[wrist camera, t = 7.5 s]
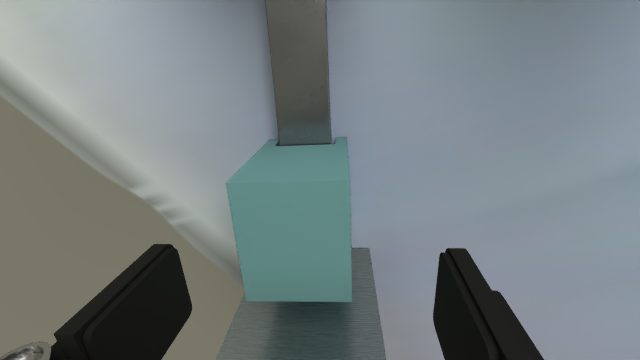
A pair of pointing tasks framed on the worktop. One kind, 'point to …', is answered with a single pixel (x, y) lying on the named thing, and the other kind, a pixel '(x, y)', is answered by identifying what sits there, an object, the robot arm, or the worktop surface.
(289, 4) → the rail
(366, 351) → the cabinet
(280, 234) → the carriage
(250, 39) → the worktop surface
